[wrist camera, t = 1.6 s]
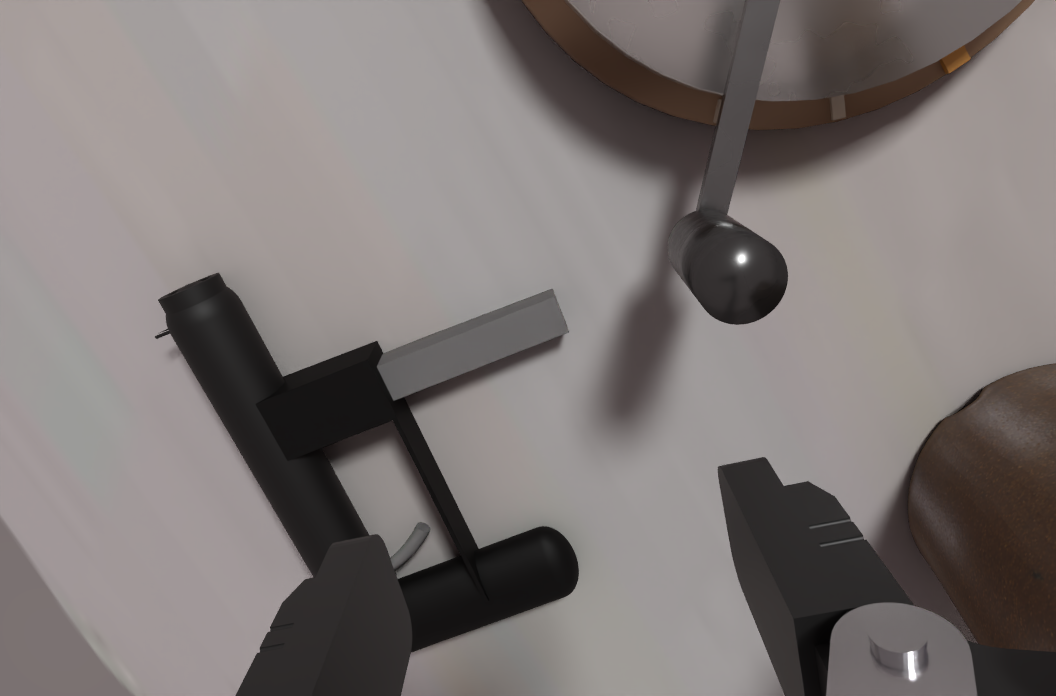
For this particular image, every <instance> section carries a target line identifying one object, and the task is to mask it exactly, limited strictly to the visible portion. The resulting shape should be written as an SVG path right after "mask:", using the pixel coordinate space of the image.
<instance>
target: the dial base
mask: <svg viewBox="0 0 1056 696" xmlns="http://www.w3.org/2000/svg"><path fill="white" fill-rule="evenodd" d="M522 2H523V3H524V4H525V6H526V7H527V8H528V10H529V11H530V12H531V14H532V15H533V16H534V18H535V19H536V20H537V22H538V23H539V24H540V26H541V27H542V28H543V29H544V31H545V32H546V33H547V34H548V35H549V36H550V37H551V38H552V39H553V40H554V41H555V42H556V43H557V44H558V45H559V46H560V47H561V48H562V49H563V50H564V51H565V52H566V53H567V54H568V55H569V56H570V57H571V58H572V59H573V60H574V61H575V62H576V63H578V64H579V65H580V66H582V67H583V68H584V69H586V70H587V71H588V72H589V73H591V74H592V75H593V76H595V77H596V78H597V79H599V80H600V81H601V82H602V83H604V84H606V85H607V86H609V87H611V88H613V89H614V90H616V91H618V92H620V93H621V94H623V95H625V96H627V97H628V98H630V99H632V100H634V101H635V102H638V103H640V104H643V105H645V106H648V107H650V108H653V109H655V110H658V111H661V112H663V113H666V114H668V115H671V116H675V117H679V118H683V119H687V120H692V121H696V122H700V123H704V124H709V125H714V126H716V123H717V118H718V114H719V110H720V106H721V101H722V97H723V96H719V95H715V94H711V93H707V92H703V91H699V90H695V89H691V88H688V87H686V86H683V85H681V84H678V83H676V82H673V81H671V80H668V79H666V78H663V77H661V76H658V75H656V74H654V73H653V72H651V71H649V70H648V69H646V68H644V67H642V66H641V65H639V64H637V63H635V62H634V61H632V60H630V59H629V58H627V57H625V56H624V55H622V54H621V53H620V52H619V51H617V50H616V49H615V48H613V47H612V46H611V45H610V44H608V43H607V42H606V41H605V40H603V39H602V38H601V37H599V36H598V35H597V34H596V33H594V32H593V31H592V30H591V29H590V27H589V26H588V25H587V24H586V23H585V22H584V21H583V20H582V19H581V18H580V17H579V16H578V15H577V14H576V13H575V12H574V11H573V10H572V9H571V8H570V7H569V6H568V5H567V4H566V2H565V1H564V0H522ZM1033 2H1034V0H1022V1H1021V2H1020V3H1019V4H1017V5H1016V6H1015V7H1014V8H1013V9H1012V10H1011V11H1010V12H1009V13H1007V14H1006V15H1005V16H1003V17H1002V18H1001V19H1000V20H998V21H997V22H996V23H994V24H993V25H992V26H990V27H989V28H988V29H986V30H985V31H984V32H983V33H981V34H980V35H979V36H977V37H976V38H975V39H973V40H972V41H970V42H968V43H967V44H965V45H963V46H962V47H960V48H958V49H957V50H955V51H953V52H952V53H950V54H948V55H947V56H945V57H943V58H942V59H940V60H938V61H937V62H935V63H933V64H931V65H929V66H926V67H924V68H922V69H920V70H917V71H915V72H913V73H911V74H909V75H906V76H904V77H902V78H900V79H898V80H895V81H892V82H889V83H886V84H882V85H879V86H876V87H873V88H870V89H866V90H863V91H860V92H857V93H852V94H846V95H840V96H835V97H829V98H823V99H818V100H799V101H759V100H755V104H754V108H753V112H752V116H751V120H750V125H749V129H752V130H771V129H796V128H803V127H809V126H814V125H820V124H826V123H832V122H837V121H841V120H844V119H847V118H851V117H854V116H857V115H860V114H864V113H867V112H870V111H873V110H877V109H879V108H882V107H884V106H886V105H888V104H890V103H893V102H895V101H897V100H899V99H902V98H904V97H906V96H908V95H911V94H913V93H915V92H917V91H919V90H921V89H922V88H924V87H926V86H927V85H929V84H931V83H933V82H934V81H936V80H938V79H939V78H941V77H943V76H944V75H946V74H950V73H951V72H952V71H954V70H955V69H957V68H958V67H960V66H961V65H963V64H964V63H966V62H967V61H969V60H970V59H971V57H972V56H973V55H975V54H976V53H977V52H979V51H980V50H981V49H982V48H984V47H985V46H986V45H988V44H989V43H990V42H992V41H993V40H994V39H995V38H996V37H997V36H999V35H1000V34H1001V33H1002V32H1003V31H1004V30H1005V29H1006V28H1007V27H1008V26H1009V25H1010V24H1011V23H1012V22H1013V21H1014V20H1015V19H1017V18H1018V17H1019V16H1020V15H1021V14H1022V13H1023V12H1024V11H1025V10H1026V9H1027V8H1028V7H1029V6H1030V5H1031V4H1032V3H1033Z"/></svg>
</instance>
